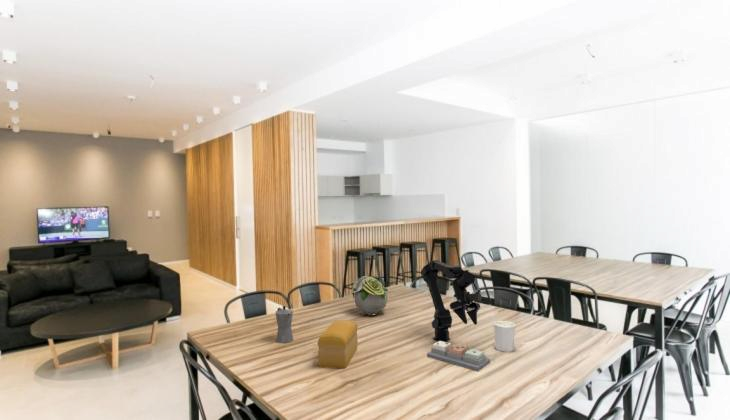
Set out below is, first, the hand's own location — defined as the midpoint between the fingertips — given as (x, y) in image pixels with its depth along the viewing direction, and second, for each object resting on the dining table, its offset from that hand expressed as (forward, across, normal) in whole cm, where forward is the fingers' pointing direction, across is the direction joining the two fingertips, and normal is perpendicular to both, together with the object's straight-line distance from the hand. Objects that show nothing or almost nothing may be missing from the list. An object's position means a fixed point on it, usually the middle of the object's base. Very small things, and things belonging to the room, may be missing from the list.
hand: (471, 324), depth 180 cm
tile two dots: (+7, -3, +17) cm, 18 cm away
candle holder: (+12, +24, -1) cm, 27 cm away
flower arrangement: (-31, +25, +77) cm, 87 cm away
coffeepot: (-17, -38, +88) cm, 97 cm away
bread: (+1, -34, +53) cm, 63 cm away
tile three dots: (+10, -2, +10) cm, 14 cm away
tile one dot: (+14, -2, +3) cm, 15 cm away
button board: (+13, -2, +11) cm, 17 cm away
